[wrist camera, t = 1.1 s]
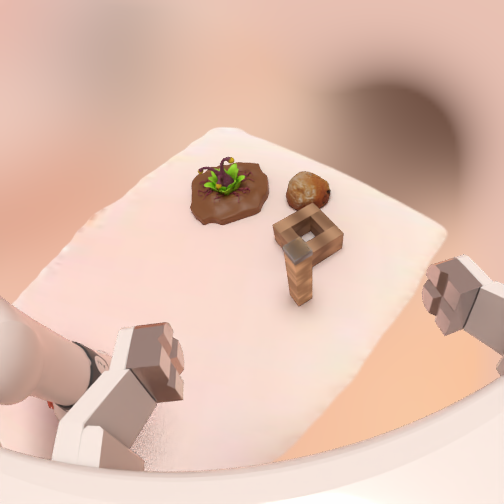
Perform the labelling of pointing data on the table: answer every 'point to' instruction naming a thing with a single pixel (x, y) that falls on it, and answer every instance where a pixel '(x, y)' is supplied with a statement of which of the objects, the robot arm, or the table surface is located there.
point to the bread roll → (307, 190)
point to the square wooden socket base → (318, 224)
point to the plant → (228, 192)
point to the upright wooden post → (299, 270)
